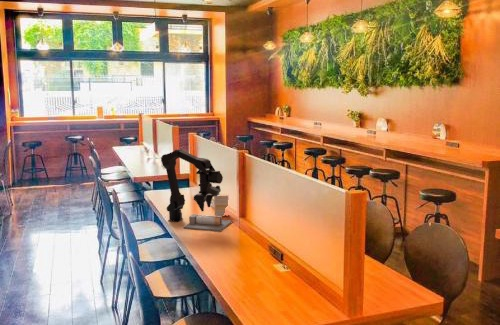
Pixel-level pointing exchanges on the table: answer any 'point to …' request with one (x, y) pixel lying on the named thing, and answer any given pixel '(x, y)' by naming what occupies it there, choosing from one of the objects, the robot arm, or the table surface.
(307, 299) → the table surface
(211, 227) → the tong mat
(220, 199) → the supplement box
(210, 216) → the tong leg
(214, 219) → the tong leg
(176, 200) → the robot arm
